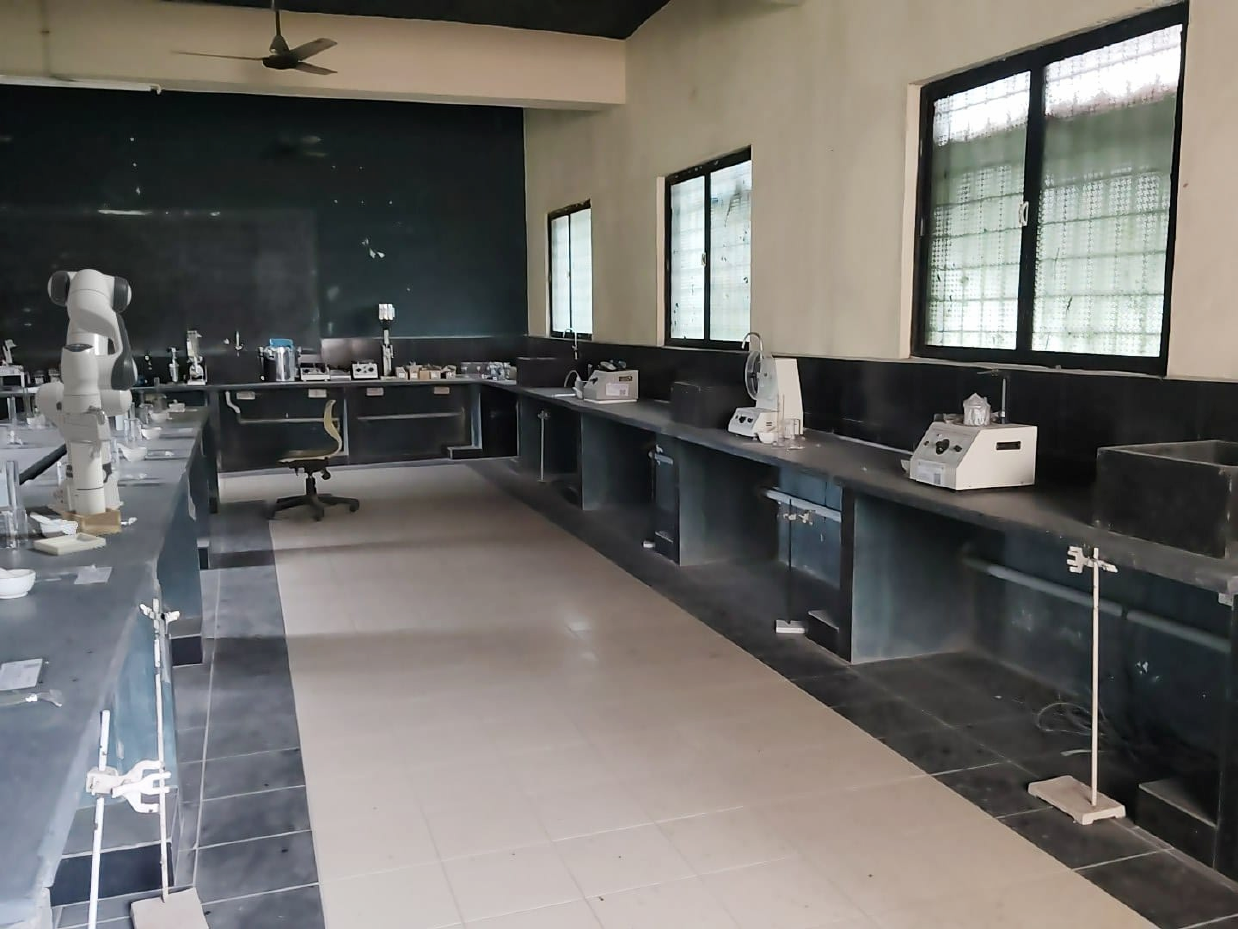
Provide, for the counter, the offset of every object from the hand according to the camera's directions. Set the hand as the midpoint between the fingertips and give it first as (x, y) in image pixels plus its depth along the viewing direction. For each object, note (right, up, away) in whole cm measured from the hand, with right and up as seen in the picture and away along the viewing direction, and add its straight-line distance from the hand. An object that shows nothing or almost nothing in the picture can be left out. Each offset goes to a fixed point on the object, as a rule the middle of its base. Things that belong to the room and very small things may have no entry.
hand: (86, 456), depth 273 cm
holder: (0, -21, +3) cm, 21 cm away
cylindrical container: (0, -21, +3) cm, 21 cm away
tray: (+3, -24, -13) cm, 27 cm away
